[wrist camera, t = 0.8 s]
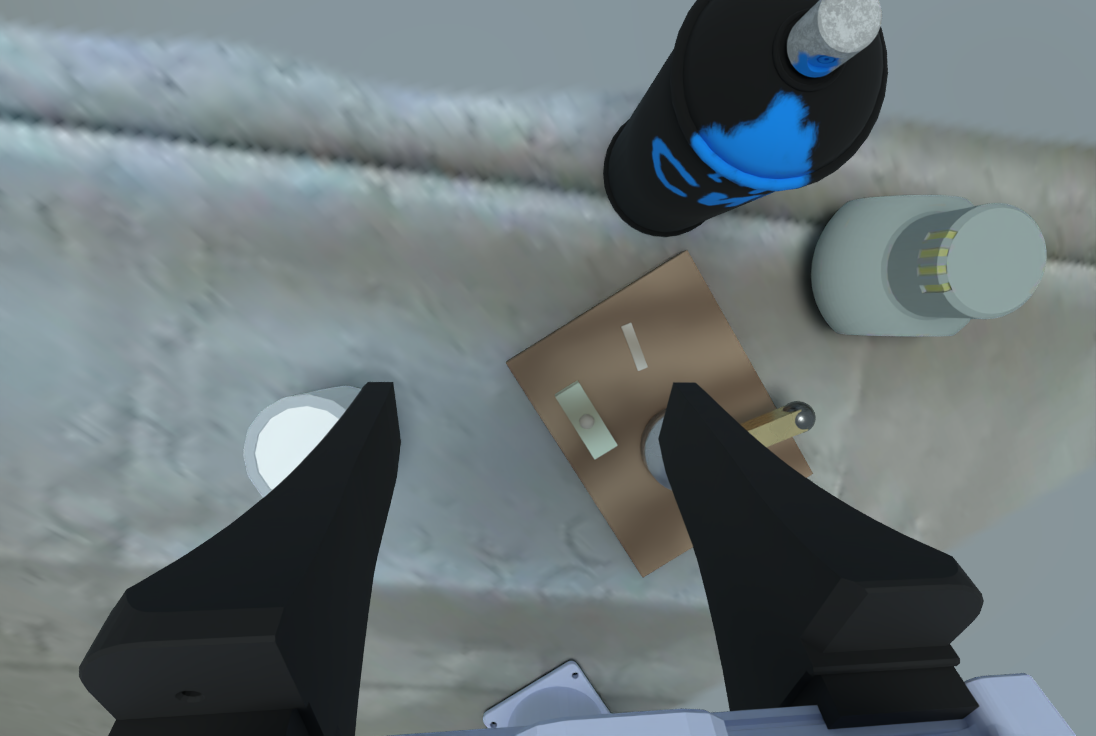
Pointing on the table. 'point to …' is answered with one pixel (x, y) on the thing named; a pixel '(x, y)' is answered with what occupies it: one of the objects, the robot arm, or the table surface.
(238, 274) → the table surface
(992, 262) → the air freshener
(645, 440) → the grey and tan lever
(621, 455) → the board
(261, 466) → the white cylinder
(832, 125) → the aerosol can
